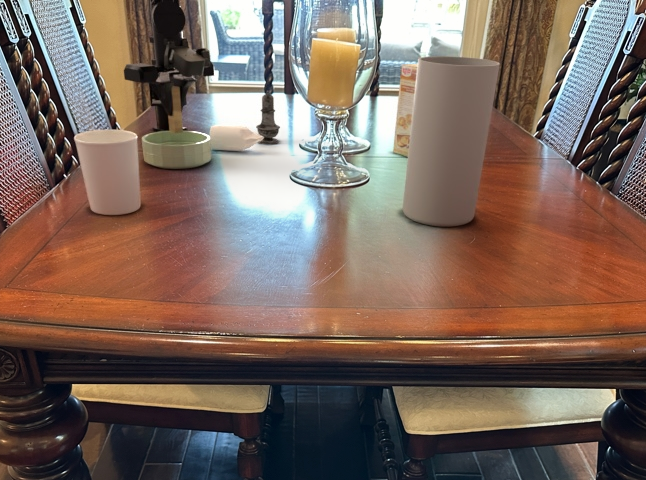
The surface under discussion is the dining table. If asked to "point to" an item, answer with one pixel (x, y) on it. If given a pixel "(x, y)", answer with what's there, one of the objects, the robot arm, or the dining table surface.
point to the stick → (176, 112)
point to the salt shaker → (268, 121)
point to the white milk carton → (232, 138)
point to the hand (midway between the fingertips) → (174, 115)
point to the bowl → (176, 149)
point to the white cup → (110, 170)
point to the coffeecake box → (405, 109)
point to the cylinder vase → (448, 138)
